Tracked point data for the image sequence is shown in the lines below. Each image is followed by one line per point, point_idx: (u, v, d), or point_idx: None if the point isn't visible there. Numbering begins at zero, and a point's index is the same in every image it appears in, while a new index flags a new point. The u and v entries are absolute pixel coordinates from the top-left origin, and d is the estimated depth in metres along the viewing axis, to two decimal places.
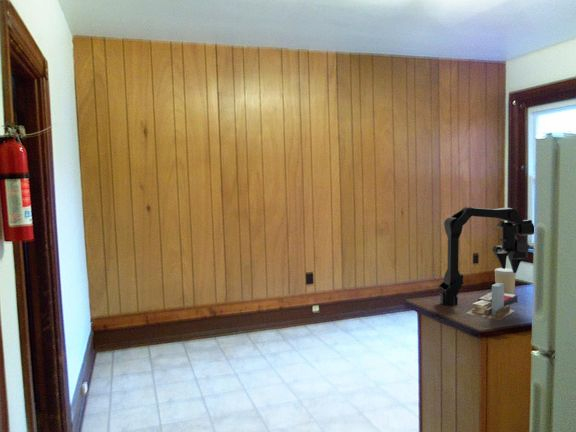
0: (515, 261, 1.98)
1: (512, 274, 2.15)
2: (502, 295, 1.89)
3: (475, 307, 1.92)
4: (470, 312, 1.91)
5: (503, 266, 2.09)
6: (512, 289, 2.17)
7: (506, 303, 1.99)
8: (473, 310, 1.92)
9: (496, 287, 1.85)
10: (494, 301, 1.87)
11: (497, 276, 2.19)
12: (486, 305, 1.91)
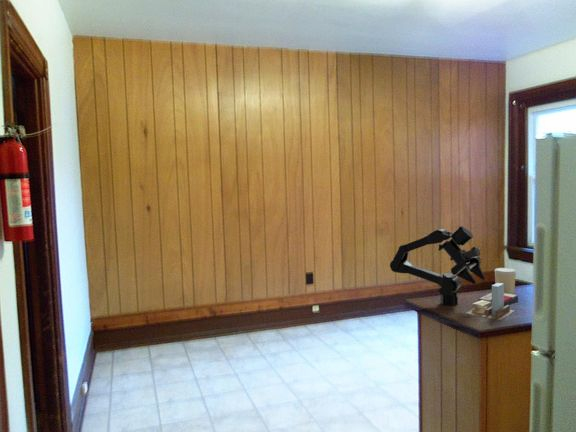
0: (464, 274, 1.92)
1: (512, 274, 2.15)
2: (502, 295, 1.89)
3: (475, 307, 1.92)
4: (470, 312, 1.91)
5: (481, 277, 1.97)
6: (512, 289, 2.17)
7: (506, 303, 1.99)
8: (473, 310, 1.92)
9: (496, 287, 1.85)
10: (494, 301, 1.87)
11: (497, 276, 2.19)
12: (486, 305, 1.91)
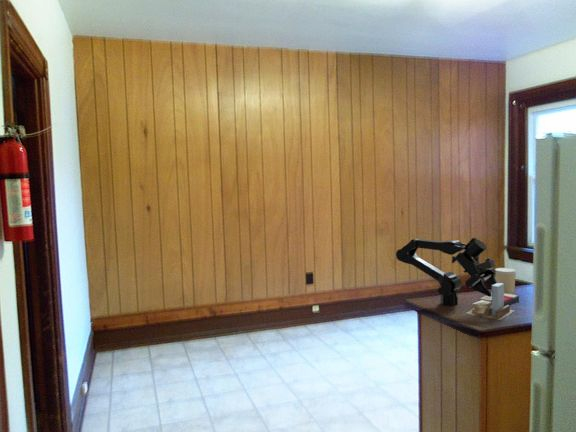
0: (479, 286, 1.88)
1: (512, 274, 2.15)
2: (502, 295, 1.89)
3: (475, 307, 1.92)
4: (470, 312, 1.91)
5: None
6: (512, 289, 2.17)
7: (507, 303, 1.99)
8: (473, 310, 1.92)
9: (496, 287, 1.85)
10: (494, 301, 1.87)
11: (497, 276, 2.19)
12: (486, 305, 1.91)
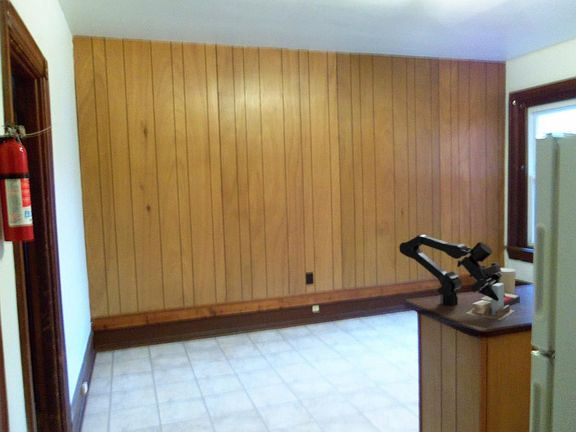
0: (486, 290, 1.87)
1: (512, 274, 2.15)
2: (502, 295, 1.89)
3: (475, 307, 1.92)
4: (470, 312, 1.91)
5: None
6: (512, 289, 2.17)
7: (507, 304, 1.98)
8: (473, 310, 1.92)
9: (496, 287, 1.85)
10: (494, 301, 1.87)
11: None
12: (486, 305, 1.91)
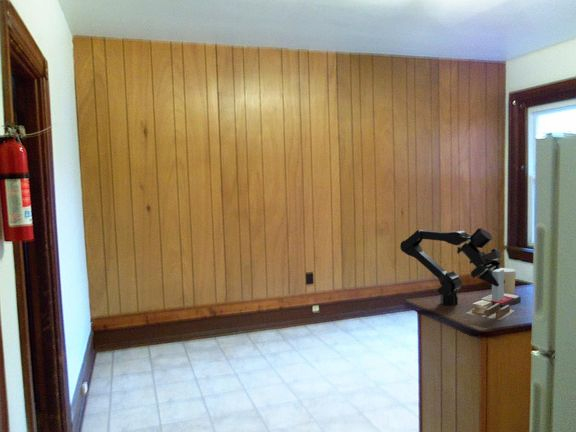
0: (487, 276, 1.86)
1: (512, 274, 2.15)
2: (502, 281, 1.88)
3: (475, 307, 1.92)
4: (470, 312, 1.91)
5: None
6: (512, 289, 2.17)
7: (507, 304, 1.98)
8: (473, 310, 1.92)
9: (496, 273, 1.85)
10: (494, 287, 1.86)
11: None
12: (486, 305, 1.91)
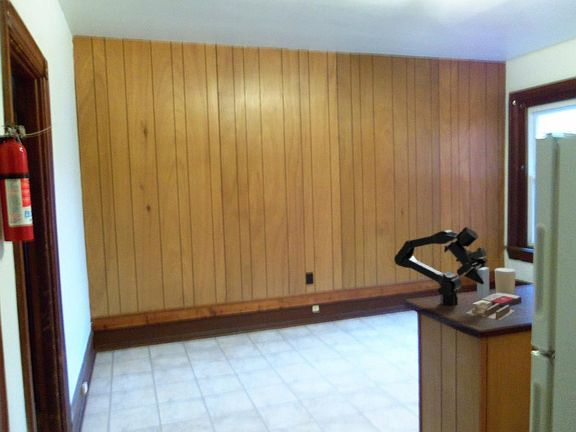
0: (472, 274, 1.91)
1: (512, 274, 2.15)
2: (487, 279, 1.92)
3: (475, 307, 1.92)
4: (470, 312, 1.91)
5: None
6: (512, 289, 2.17)
7: (508, 304, 1.98)
8: (473, 310, 1.92)
9: (481, 271, 1.89)
10: (479, 284, 1.90)
11: (497, 276, 2.19)
12: (486, 305, 1.91)
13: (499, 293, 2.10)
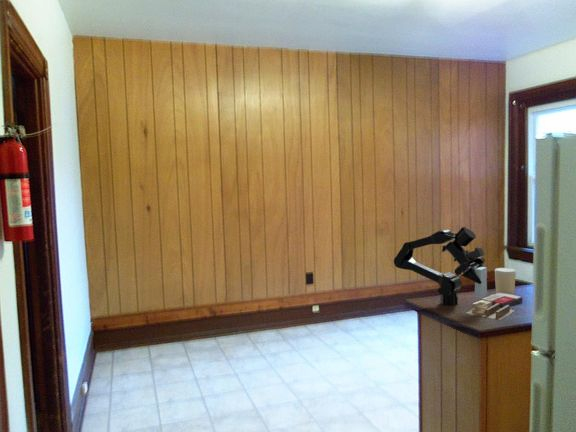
0: (470, 274, 1.91)
1: (512, 274, 2.15)
2: (485, 278, 1.93)
3: (475, 307, 1.92)
4: (470, 312, 1.91)
5: None
6: (512, 289, 2.17)
7: (508, 304, 1.97)
8: (473, 310, 1.92)
9: (479, 270, 1.90)
10: (477, 284, 1.91)
11: (497, 276, 2.19)
12: (486, 305, 1.91)
13: (500, 293, 2.09)
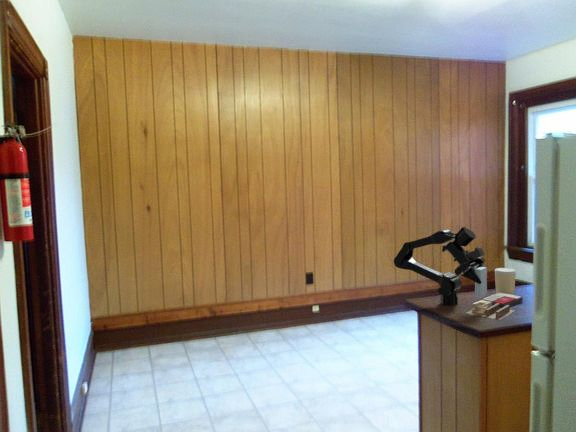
0: (470, 274, 1.91)
1: (512, 274, 2.15)
2: (485, 278, 1.93)
3: (475, 307, 1.92)
4: (470, 312, 1.91)
5: None
6: (512, 289, 2.17)
7: (509, 304, 1.97)
8: (473, 310, 1.92)
9: (479, 270, 1.90)
10: (477, 284, 1.91)
11: (497, 276, 2.19)
12: (486, 305, 1.91)
13: (500, 293, 2.09)
